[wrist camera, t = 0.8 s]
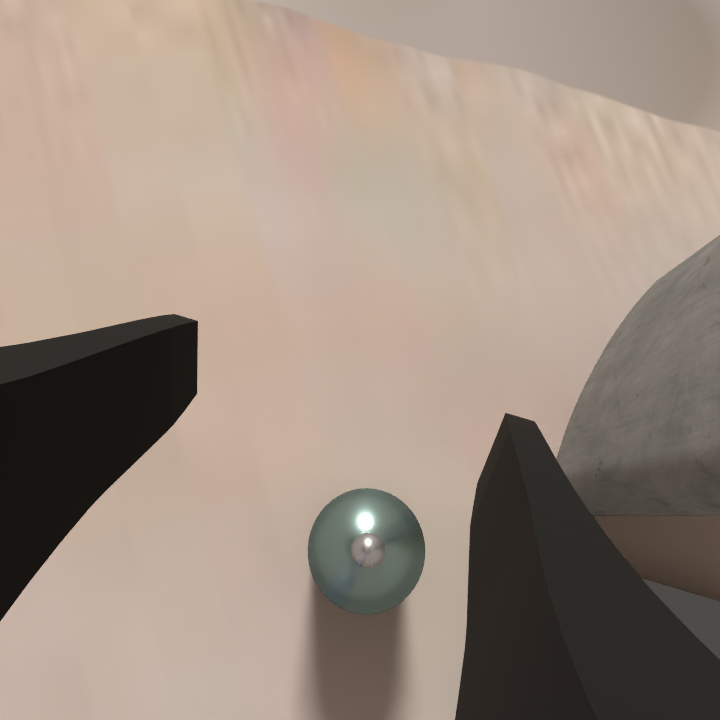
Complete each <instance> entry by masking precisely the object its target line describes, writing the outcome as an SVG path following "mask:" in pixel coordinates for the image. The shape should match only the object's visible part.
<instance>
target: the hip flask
mask: <svg viewBox="0 0 720 720" xmlns="http://www.w3.org/2000/svg"><path fill="white" fill-rule="evenodd" d="M556 460H557V461H558V463H559V465H560V466H561V468H562V470H563V471H564V473H565V475H566V476H567V478H568V480H569V481H570V483H571V484H572V486H573V488H574V489H575V491H576V492H577V494H578V495H579V497H580V498H581V500H582V501H583V503H584V504H585V506H586V507H587V509H588V510H589V512H590V513H591V514H592V515H605V516H720V235H719V236H718V237H716V238H715V239H714V240H712V241H711V242H710V243H708V244H707V245H705V246H704V247H703V248H701V249H700V250H699V251H697V252H696V253H694V254H693V255H692V256H690V257H689V258H688V259H686V260H685V261H683V262H682V263H681V264H679V265H678V266H676V267H675V268H674V269H672V270H671V271H670V272H668V273H667V274H665V275H664V276H663V277H661V278H660V279H659V280H657V281H656V282H655V283H654V284H653V285H652V286H651V288H650V289H649V290H648V291H647V292H646V293H645V294H644V295H643V296H642V298H641V299H640V300H639V301H638V302H637V303H636V305H635V306H634V307H633V308H632V310H631V311H630V312H629V314H628V315H627V316H626V318H625V319H624V320H623V322H622V323H621V325H620V326H619V328H618V329H617V330H616V332H615V333H614V335H613V337H612V338H611V340H610V341H609V343H608V345H607V346H606V348H605V349H604V351H603V353H602V355H601V356H600V358H599V360H598V362H597V364H596V365H595V367H594V369H593V371H592V373H591V375H590V377H589V378H588V380H587V382H586V385H585V387H584V389H583V391H582V393H581V395H580V397H579V399H578V402H577V404H576V406H575V409H574V411H573V413H572V416H571V418H570V421H569V423H568V426H567V429H566V431H565V434H564V437H563V440H562V443H561V446H560V449H559V452H558V456H557V459H556Z"/></svg>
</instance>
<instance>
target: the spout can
mask: <svg viewBox="0 0 720 720" xmlns="http://www.w3.org/2000/svg"><path fill="white" fill-rule="evenodd" d="M308 560H309V566H310V570H311V573H312V576H313V578H314V580H315V582H316V584H317V586H318V587H319V589H320V590H321V591H322V593H323V594H324V595H325V596H326V597H327V598H328V599H329V600H330V601H331V602H333V603H334V604H335V605H337V606H339V607H340V608H342V609H345V610H347V611H350V612H354V613H358V614H375V613H380V612H383V611H386V610H389V609H391V608H393V607H394V606H396V605H398V604H399V603H400V602H402V601H403V600H404V599H405V598H406V597H407V596H408V595H409V594H410V593H411V591H412V590H413V589H414V587H415V586H416V584H417V582H418V580H419V578H420V576H421V573H422V570H423V566H424V560H425V542H424V537H423V533H422V530H421V527H420V525H419V523H418V520H417V519H416V517H415V515H414V514H413V512H412V511H411V510H410V509H409V508H408V506H407V505H405V504H404V503H403V502H402V501H401V500H399V499H398V498H397V497H395V496H393V495H391V494H389V493H387V492H384V491H381V490H377V489H368V488H367V489H357V490H352V491H349V492H346V493H344V494H342V495H340V496H338V497H336V498H335V499H333V500H332V501H331V502H330V503H329V504H327V505H326V506H325V508H324V509H323V510H322V511H321V512H320V514H319V515H318V517H317V519H316V520H315V522H314V524H313V527H312V530H311V533H310V537H309V543H308Z"/></svg>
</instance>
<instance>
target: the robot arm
mask: <svg viewBox="0 0 720 720" xmlns="http://www.w3.org/2000/svg"><path fill="white" fill-rule="evenodd" d="M197 346H198V321H196V320H192V319H189V318H186V317H182V316H179V315H175V314H172V315H163V316H157V317H151V318H146V319H141V320H136V321H132V322H127V323H123V324H118V325H114V326H109V327H105V328H100V329H96V330H91V331H87V332H82V333H77V334H72V335H67V336H61V337H56V338H51V339H46V340H41V341H35V342H30V343H24V344H18V345H11V346H4V347H0V621H1V620H2V618H3V617H4V615H5V614H6V613H7V611H8V610H9V609H10V607H11V606H12V605H13V603H14V602H15V600H16V599H17V598H18V596H19V595H20V594H21V592H22V591H23V590H24V588H25V587H26V586H27V584H28V583H29V582H30V580H31V579H32V578H33V576H34V575H35V574H36V573H37V571H38V570H39V569H40V568H41V566H42V565H43V564H44V563H45V561H46V560H47V559H48V557H49V556H50V555H51V554H52V552H53V551H54V550H55V549H56V547H57V546H58V545H59V544H60V542H61V541H62V540H63V539H64V538H65V536H66V535H67V534H68V533H69V532H70V530H71V529H72V528H73V527H74V526H75V524H76V523H77V522H78V521H79V520H80V519H81V517H82V516H83V515H84V514H85V513H86V511H87V510H88V509H89V508H90V507H91V506H92V505H93V504H94V503H95V501H96V500H97V499H98V498H99V497H100V496H101V495H102V494H103V493H104V492H105V491H106V490H107V489H108V488H109V487H110V486H111V485H112V484H113V483H114V482H115V481H116V480H117V479H118V478H119V477H120V476H122V475H123V474H124V473H125V472H126V471H127V470H128V469H129V468H130V467H131V466H132V465H133V464H134V463H135V462H136V461H137V460H138V459H139V458H140V457H141V456H142V455H143V454H144V453H145V452H146V451H147V450H148V449H149V448H151V447H152V446H153V445H154V444H155V443H156V442H157V441H158V440H159V439H160V438H161V437H162V436H163V435H164V434H165V433H166V432H167V431H168V430H169V429H170V428H171V427H172V426H173V424H174V423H175V422H176V421H177V419H178V418H179V417H180V416H181V414H182V413H183V412H184V411H185V409H186V408H187V407H188V405H189V404H190V402H191V401H192V400H193V398H194V397H195V396H196V394H197ZM455 720H720V659H719V658H718V657H717V656H716V655H715V654H714V653H713V652H711V651H710V650H709V649H708V648H707V647H706V646H705V645H704V644H703V643H702V642H701V641H700V640H699V639H698V638H697V637H696V636H695V635H694V634H693V633H692V632H691V631H690V630H689V629H688V628H687V627H686V626H685V625H684V624H683V623H682V621H681V620H680V619H679V618H678V617H677V616H676V615H675V614H674V613H673V612H672V611H671V610H670V609H669V608H668V607H667V606H666V605H665V604H664V603H663V602H662V601H661V600H660V599H659V597H658V596H657V595H656V594H655V593H654V592H653V591H652V590H651V589H650V587H649V586H648V585H647V584H646V583H645V582H644V581H643V580H642V578H641V577H640V576H639V575H638V574H637V572H636V571H635V570H634V569H633V568H632V566H631V565H630V564H629V563H628V562H627V560H626V559H625V558H624V557H623V556H622V554H621V553H620V552H619V551H618V550H617V548H616V547H615V546H614V544H613V543H612V542H611V541H610V539H609V538H608V537H607V535H606V534H605V533H604V531H603V530H602V528H601V527H600V526H599V524H598V523H597V521H596V520H595V519H594V517H593V516H592V514H591V513H590V512H589V510H588V509H587V507H586V506H585V504H584V503H583V501H582V500H581V498H580V497H579V495H578V494H577V492H576V491H575V489H574V488H573V486H572V484H571V483H570V481H569V480H568V478H567V476H566V475H565V473H564V471H563V470H562V468H561V466H560V465H559V463H558V461H557V460H556V458H555V456H554V454H553V453H552V451H551V449H550V447H549V446H548V444H547V442H546V440H545V439H544V437H543V435H542V433H541V431H540V430H539V428H538V426H537V424H536V423H535V422H534V421H531V420H528V419H524V418H521V417H517V416H514V415H511V414H507V413H505V416H504V418H503V421H502V423H501V426H500V428H499V431H498V433H497V436H496V438H495V441H494V443H493V446H492V448H491V451H490V453H489V456H488V458H487V461H486V463H485V466H484V468H483V471H482V473H481V476H480V478H479V481H478V483H477V488H476V494H475V500H474V506H473V512H472V518H471V525H470V547H469V576H468V606H467V629H466V642H465V652H464V659H463V667H462V674H461V682H460V689H459V697H458V704H457V710H456V717H455Z"/></svg>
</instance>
